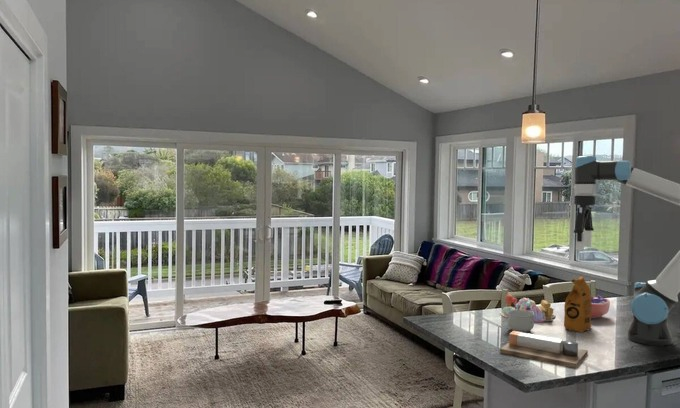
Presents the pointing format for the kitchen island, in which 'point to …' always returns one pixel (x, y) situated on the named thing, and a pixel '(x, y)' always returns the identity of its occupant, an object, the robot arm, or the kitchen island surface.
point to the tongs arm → (535, 342)
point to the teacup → (520, 320)
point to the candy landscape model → (529, 308)
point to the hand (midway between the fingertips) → (583, 248)
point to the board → (545, 355)
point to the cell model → (599, 306)
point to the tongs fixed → (566, 346)
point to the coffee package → (578, 307)
